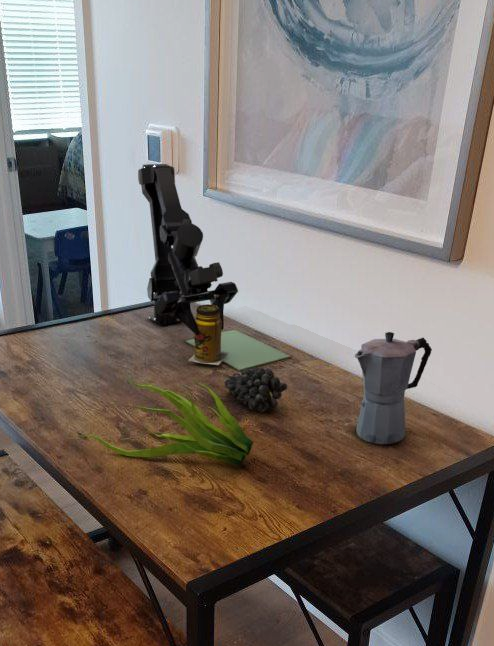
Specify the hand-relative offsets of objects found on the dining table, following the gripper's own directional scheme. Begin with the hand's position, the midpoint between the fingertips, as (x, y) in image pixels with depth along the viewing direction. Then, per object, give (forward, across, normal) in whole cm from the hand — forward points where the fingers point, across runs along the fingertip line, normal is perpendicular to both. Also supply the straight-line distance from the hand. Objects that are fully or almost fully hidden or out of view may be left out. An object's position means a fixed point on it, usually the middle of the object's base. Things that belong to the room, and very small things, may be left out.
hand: (210, 331), depth 157 cm
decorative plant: (+29, -29, -18) cm, 45 cm away
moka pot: (+37, +11, -27) cm, 47 cm away
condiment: (+4, +1, +6) cm, 7 cm away
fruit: (+21, -3, -10) cm, 24 cm away
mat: (+2, +10, +9) cm, 14 cm away
